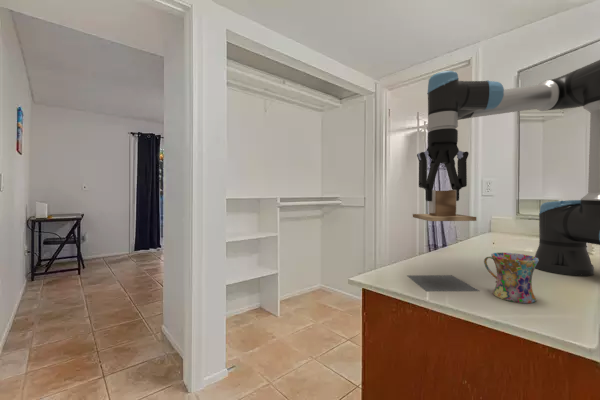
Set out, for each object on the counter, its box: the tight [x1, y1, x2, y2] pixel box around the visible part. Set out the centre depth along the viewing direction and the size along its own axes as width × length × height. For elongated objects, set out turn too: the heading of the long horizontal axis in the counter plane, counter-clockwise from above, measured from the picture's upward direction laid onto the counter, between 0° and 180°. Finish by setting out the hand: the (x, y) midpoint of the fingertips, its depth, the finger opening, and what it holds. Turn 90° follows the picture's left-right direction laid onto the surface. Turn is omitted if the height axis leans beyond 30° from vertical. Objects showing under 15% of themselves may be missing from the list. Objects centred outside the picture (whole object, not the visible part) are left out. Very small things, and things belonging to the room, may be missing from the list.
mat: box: [406, 274, 480, 292], centre depth 81 cm, size 14×14×1 cm
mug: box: [483, 252, 539, 304], centre depth 71 cm, size 12×9×11 cm
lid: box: [412, 190, 477, 222], centre depth 80 cm, size 12×12×8 cm
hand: (442, 212), depth 80 cm, fingers closed on lid, 5 cm apart
